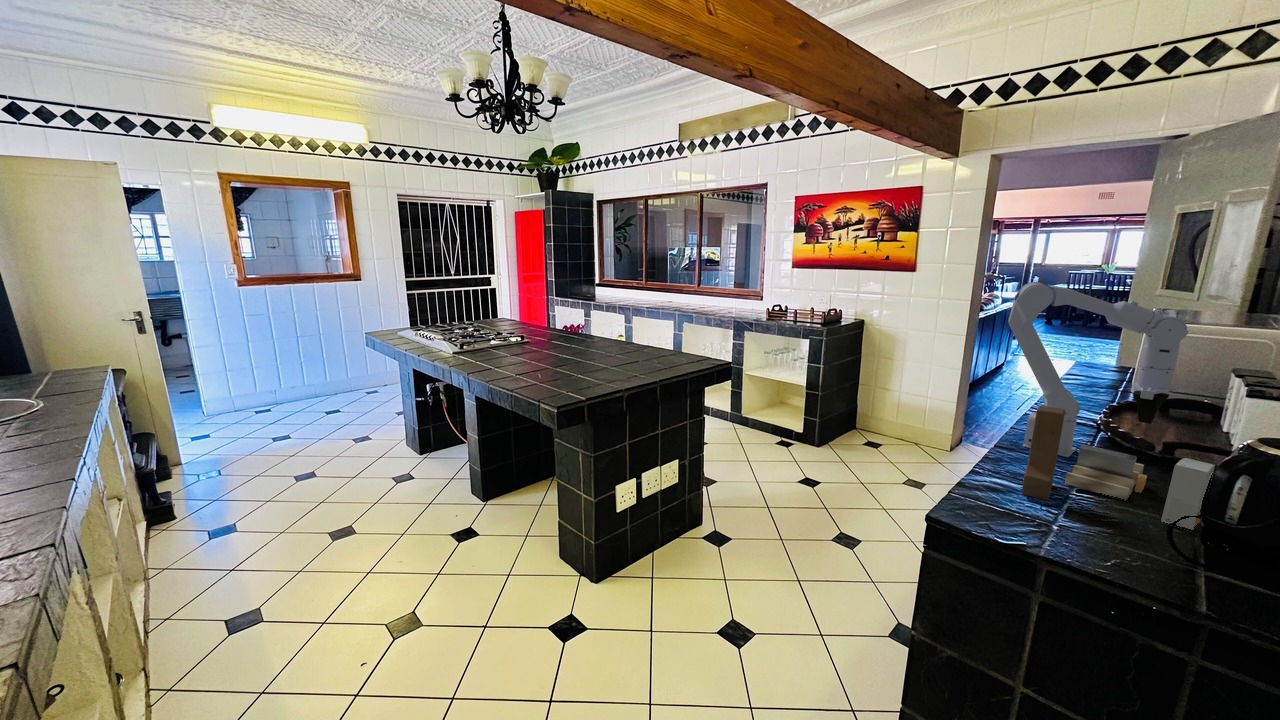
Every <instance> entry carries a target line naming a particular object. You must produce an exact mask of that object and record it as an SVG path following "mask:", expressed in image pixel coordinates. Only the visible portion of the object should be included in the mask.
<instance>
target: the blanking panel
mask: <svg viewBox="0 0 1280 720" xmlns="http://www.w3.org/2000/svg"><path fill="white" fill-rule="evenodd" d="M1137 458H1138V456H1136V455H1132V454H1129V453H1124V452H1118V451H1114V450H1110V449H1105V448H1100V447H1097V446H1092V445H1087V444H1082V445H1080V447H1079V450H1078V455H1077V461H1076V465H1077V466H1081V467H1085V468H1089V469H1093V470H1097V471H1101V472H1105V473H1109V474H1113V475H1117V476H1121V477H1125V478H1129V479H1132V477H1133V472H1134V467H1135V463H1137V462H1136V461H1137Z"/></svg>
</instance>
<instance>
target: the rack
mask: <svg viewBox="0 0 1280 720" xmlns="http://www.w3.org/2000/svg"><path fill="white" fill-rule="evenodd" d="M1144 466H1145V464H1142V463H1139V462H1138V463H1137V462H1136V463H1135V467H1134V472H1133V477H1132V479H1129V478H1125V477H1121V476H1117V475H1113V474H1109V473H1105V472H1101V471H1097V470H1093V469H1089V468H1085V467H1081V466H1077V464H1074V465H1073V466H1072V472H1069V471H1067V472H1066V474H1065V479H1064V480H1065V481H1064V484H1065V485H1067V486H1071V487H1075V488H1079V489H1083V490H1086V491H1089V490H1090V491H1089V492H1094V493H1098V494H1100V493H1102V494H1101V495H1104V494H1105V495H1104V496H1107V495H1109V496H1108V497H1111V496H1113V497H1112V498H1115V497H1118V498H1121V499H1120V500H1122V499H1124V500H1123V501H1126V500H1127V501H1128V499H1129V497H1130V496H1129V495H1131V494H1132V493H1133V491H1135V493H1138V492H1139V493H1138V494H1141V493H1142V492H1143V490H1144V489H1145V487H1144V486H1146V483H1147V478H1148V475H1146V474H1143V472H1144ZM1135 485H1136V486H1135ZM1118 498H1117V499H1118Z"/></svg>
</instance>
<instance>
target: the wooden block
mask: <svg viewBox="0 0 1280 720" xmlns="http://www.w3.org/2000/svg"><path fill="white" fill-rule="evenodd" d="M1035 413H1036V417H1035V423H1034V429H1033V435H1032V441H1031V447H1030V448H1029V455H1028V459H1027V463H1026V468H1025V472H1024V475H1023V483H1022V487H1021V494H1022V495H1024V496H1027V497H1031V498H1035V499H1039V500H1044V501H1049V498H1050V494H1051V491H1052V487H1053V482H1054V477H1055V471H1056V467H1057V466H1056V465H1057V459H1058V456H1059V455H1058V449H1059V443H1060V438H1061V432H1062V427H1063V421H1064V415H1065V410H1064V409H1060V408H1053V407H1047V406H1045V405H1038V407H1037V409H1036V412H1035Z"/></svg>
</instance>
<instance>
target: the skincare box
mask: <svg viewBox="0 0 1280 720" xmlns="http://www.w3.org/2000/svg"><path fill="white" fill-rule="evenodd" d="M1215 467H1216V465H1215V464H1214V463H1213V464H1212V463H1208V462H1203V461H1200V460H1195V459H1192V458H1187V457H1183V458H1182V459H1179V461H1178V462H1177V463H1176V464H1175V465H1174V468H1173V472H1172V476H1171V478H1170V479H1171V481H1170V484H1169V488H1168V492H1167V496H1166V500H1165V504H1164V507H1163V510H1162V511H1163V512H1162V516H1161V519H1160V522H1161V523H1163V522H1165V523H1164V524H1166V523H1168V524H1167V525H1169V524H1170V523H1173V522H1175V521H1177V520H1178V519H1180V518H1181V517H1184V516H1198V515H1200V509H1201V504H1202V500H1203V497H1204V494H1205V492H1206V489H1207V486H1208V483H1209V480H1210V478H1211V475H1212V473H1213V474H1214V472H1215V471H1214V470H1215ZM1212 476H1213V475H1212ZM1199 522H1200V523H1201V521H1200V519H1199V518H1196V517H1189V518H1186V519H1182V520H1180V521H1179V522H1177V523H1176V525H1177V526H1180V527H1185V528H1188V529H1191V530H1193V531H1194V529H1195V528H1196V527H1197V526H1198V525H1197V523H1199ZM1200 523H1199V524H1200ZM1196 525H1197V526H1196ZM1195 526H1196V527H1195ZM1194 527H1195V528H1194Z"/></svg>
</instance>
